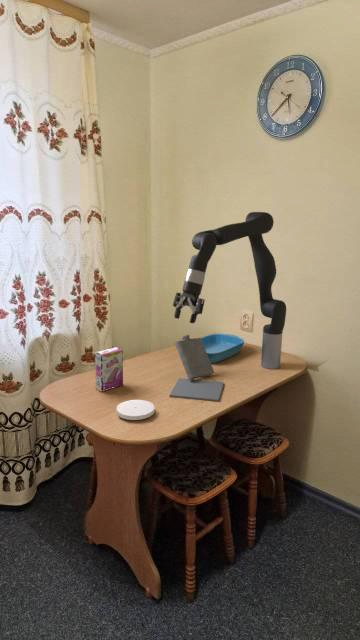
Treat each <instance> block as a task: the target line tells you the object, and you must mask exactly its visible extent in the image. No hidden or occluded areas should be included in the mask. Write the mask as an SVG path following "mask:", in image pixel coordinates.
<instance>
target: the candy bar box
mask: <svg viewBox="0 0 360 640" xmlns="http://www.w3.org/2000/svg"><path fill="white" fill-rule="evenodd" d="M123 350H124V349H122V348H119V347H115V346H114V347H111V348H107V349H105V350H104V349H103V350H99V351H95V352H94V355H95V356H94V357H95V358H94V359H95V362H94V363H95V364H94V365H95V366H94V367H95V368H94V369H95V389H96V388H98V389H100V390H102V391H103V390H106V389H109V388H112V387H115V388H117V387H116V386H118V387H121V386H120V385H122V386H124V363H123V362H124V351H123ZM98 389H97V390H98ZM112 389H113V388H112ZM109 390H110V389H109ZM106 391H107V390H106ZM103 392H104V391H103Z"/></svg>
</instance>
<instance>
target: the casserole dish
mask: <svg viewBox="0 0 360 640" xmlns="http://www.w3.org/2000/svg"><path fill="white" fill-rule="evenodd" d="M200 338H201V340H202V342H203V345H204V347H205V350H206V353H207V355H208V358H209V360H210V363H211V364H215V363H219V362H221V361H224V360H226V359H228V358H230V357H232V355H233V356H235V355H236V354H238V353H239V352H240V351H241V350H242V348H243V346H244V343H245V339H244V338H242V337H240V336H238V335H235V334H226V333H212V334H211V333H210V334H208V335H205V336H202V337H200ZM234 354H235V355H234Z"/></svg>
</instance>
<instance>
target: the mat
mask: <svg viewBox="0 0 360 640" xmlns="http://www.w3.org/2000/svg"><path fill="white" fill-rule="evenodd" d="M224 383H225V382H224V381H216V380H205V379H191V380H189V379H188V378H181V377H179V378H178V379H177V381H176V382H175V385H174V386H173V388H172V390H171V391H170V393H169V398H176V399H177V398H179V399H185V400H186V399H187V400H198V401H209V402H218V403H219V401H220V398H221V396H222V395H221V394H222V392H223V387H224Z"/></svg>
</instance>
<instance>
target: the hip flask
mask: <svg viewBox="0 0 360 640" xmlns="http://www.w3.org/2000/svg"><path fill="white" fill-rule="evenodd" d="M201 338H202V337H197V338H195V337H194V338H191V337H190V335H189V334H186V335H184V336H182V337H181V339H182V340H177V341H176V342H174V344H175V348H176V349H177V353H178V355H179V357H180V360H181V364H182V365H183V367H184V368H183V369H184V371H185V373H186V374H185V375H186V377H187V379H189V380H191V379H195V380H197V379H199V378H200V379H201V378H203V377H207V376H210V375H213V374H215V371H214V367H213V365H212V363H210V360H209V358H208V355H207V353H206V350H205V347H204V345H203V342H202V340H201Z"/></svg>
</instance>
